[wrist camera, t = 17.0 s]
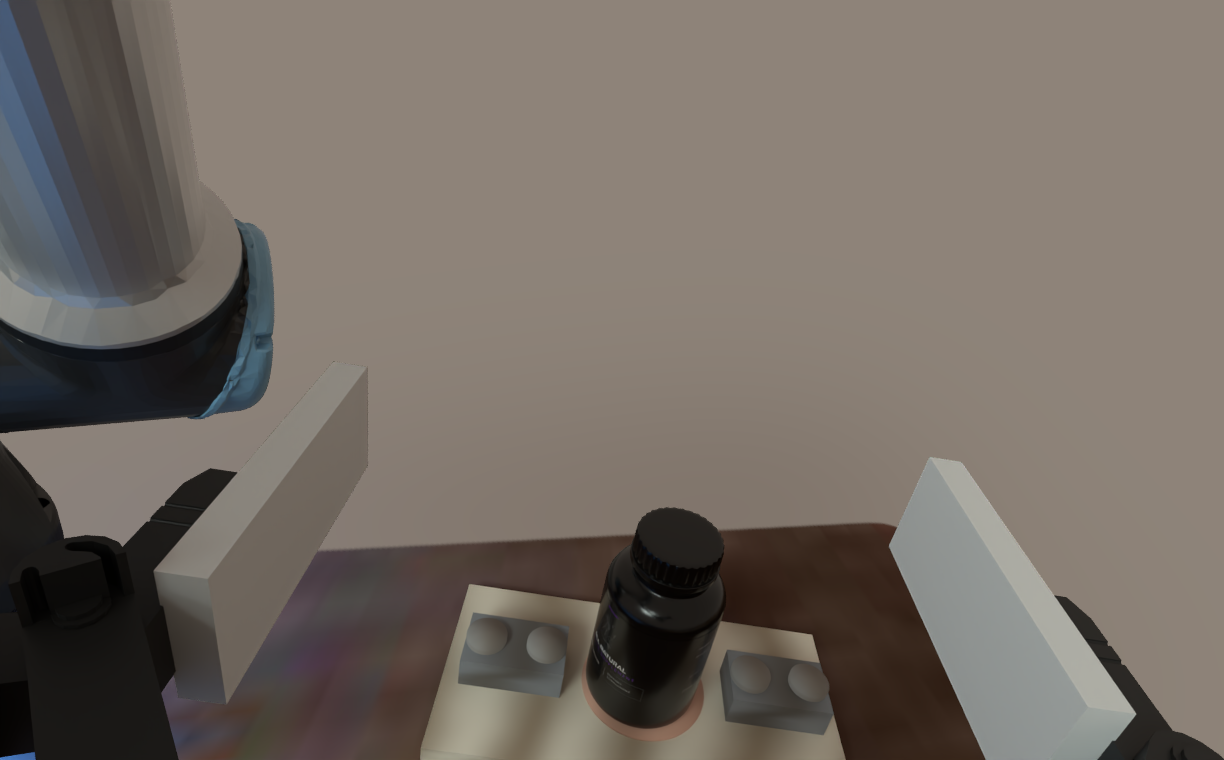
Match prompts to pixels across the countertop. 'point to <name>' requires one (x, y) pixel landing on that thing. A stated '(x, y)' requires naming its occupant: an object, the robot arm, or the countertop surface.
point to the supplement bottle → (657, 619)
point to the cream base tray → (575, 724)
